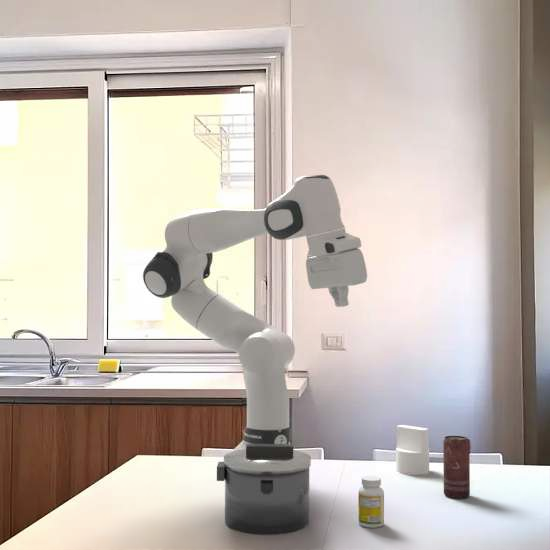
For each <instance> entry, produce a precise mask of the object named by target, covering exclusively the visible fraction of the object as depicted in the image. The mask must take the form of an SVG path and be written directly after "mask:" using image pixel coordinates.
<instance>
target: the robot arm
mask: <svg viewBox="0 0 550 550" xmlns="http://www.w3.org/2000/svg"><path fill="white" fill-rule="evenodd" d="M341 212H342V211H341V205H340V201H339V197H338V194H337V191H336V188H335V186H334V182H333V180H332V179H331V177H329V176H327V175H325V174H315V175H313V174H312V175H303V176H299V177H298V178H296V179H295V181H294V183H293V185H292V186H291V187H290V188H289V189H288V190H287V191H286V192H285V193H284V194H282V195H281V196H279V197H278V198H276V199H275V200H273V201H271V202H269V203H268V205H267V206H266V207H265V208H263V209H235V208H233V209H231V208H205V209H199V210H194V211H190V212H187V213H184V214H181V215H178V216H177V217H175V218H173V219H171V220H170V221H169V222H168V223H167V224H166V225H165V226H166V227H165V229H164V240H165V243H166V247H165V248H164V250H163V251H158V252H156V254H155V255H154V257H152V259H151V260H150V261H149V262H148V263H147V265H146V267H145V268H144V270H143V273H142V278H143V283H144V285H145V287H146V289H147V290H148V291H149V292H150V293H151V294H152V295H153V296H155V297H157V298H159V299H160V298H161V299H166V298H170V297H171V301H170V302H171V306H172V308H173V310H174V311H175V313H177V315H179V316H180V317H181V318H182V319H184V321H185V322H186V323H188V324H189V326H191V327H193V329H195V330H197V331H199V332H200V333H201V334H202V335H204V336H205V337H208V339H210V340H212V342H215V343H216V344H218V345H219V346H221V347H223V348H226V349H228V350H230V351H233V352H234V353H236V354H238V359H239V362H240V363H239V364H241V367H242V375H243V382H244V386H245V392H246V393H245V394H246V426H245V427H244V426H243V427H241V429H243V430H242V431H241V432H242V433H243V436H242V441H241V442H240V443H239V444H238V445H237V446H236V447H235V448H233V450H232V451H230V452H233V451H237V450H243V449H246V445H247V444H291V443H290V442H291V440H292V427H291V426H290V394H289V391H288V387H287V381H286V374H285V373H286V372H285V368H287V367H288V366H290V364H291V362H292V360H294V359H293V358H294V356H295V352H296V347H295V343H294V341H293V339H292V338H291V337H290V336H289V335H288V334H286V333H285V332H284V331H281V330H280V329H278V328H276V327H275V326H273V325H271V324H269V323H268V322H266V321H264V320H262V319H260V318H258V317H257V316H255V315H253V314H251V313H249V312H247V311H245V310H244V309H242V308H240V307H239V306H238V305H236V304H234V303H233V302H231V301H229V300H228V299H226V297H224V296H222V295H221V294H220V293H217V292H216V291H214V290H212V289H211V288H210V287H209V286H208V285H207V284H206V283H205V280H206V279H207V278H209V277H210V275H211V266H212V263H213V260H214V259H213V253H217V252H219V251H223V250H227V249H229V248H232V247H234V246H236V245H239V244H242V243H245V242H246V241H248V240H251V239H254V238H257V237H260V236H263V235H270V236H271V237H272V238H273V239H275V240H279V241H289V240H293V239H298V238H302V237H306V242H307V247H308V252H307V254H306V258H307V259H306V261H305V268H306V275H307V281H308V285H309V287H310V289H311V290H319V289H328V292H329V294H330V296H331V297H332V299H333V300H334V301H333V302H334V306H335V307H336V308H340V307H341V308H343V307H347V306H349V304H350V303H349V299H348V297H349V287H350V286H357V285H360V284H364V283H366V282H367V280H368V272H367V271H368V270H367V265H366V262H365V257H364V254H363V251H362V250H361V249H360V248H361V247H362V241H361V239H360V237H358V236H356V235H355V236H354V235H352V234H350V233H347V231H346V227H345V225H344V222H343V221H342V217H341Z"/></svg>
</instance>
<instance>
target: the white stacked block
mask: <svg viewBox="0 0 550 550" xmlns="http://www.w3.org/2000/svg"><path fill="white" fill-rule="evenodd" d="M429 446H430V444H429V428H425V427H421V426H420V427H419V426H414V425H412V426H411V425H405V424H400V425H397V426H396V448H395V461H396V462H395V470H396V471H395V472H397V473H398V472H399V473H398V474H401V473H402V475H406V474H408V475H407V476H422V475H428V474H429V473H430V450H429ZM427 473H428V474H427Z"/></svg>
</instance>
